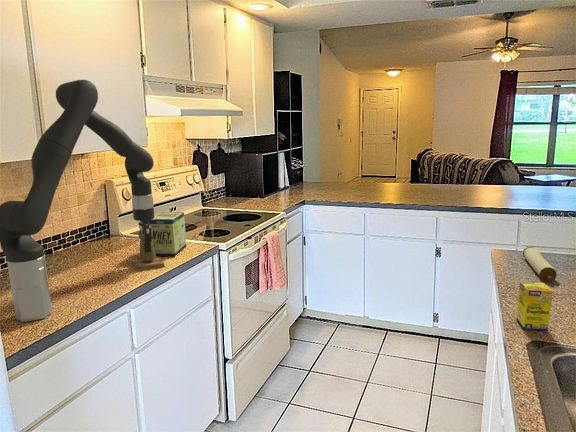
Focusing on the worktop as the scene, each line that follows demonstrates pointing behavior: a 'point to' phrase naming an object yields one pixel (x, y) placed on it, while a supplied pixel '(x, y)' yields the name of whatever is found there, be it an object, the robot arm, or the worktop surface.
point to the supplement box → (534, 306)
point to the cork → (142, 249)
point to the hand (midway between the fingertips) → (147, 250)
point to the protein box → (168, 233)
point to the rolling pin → (539, 264)
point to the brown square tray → (148, 264)
